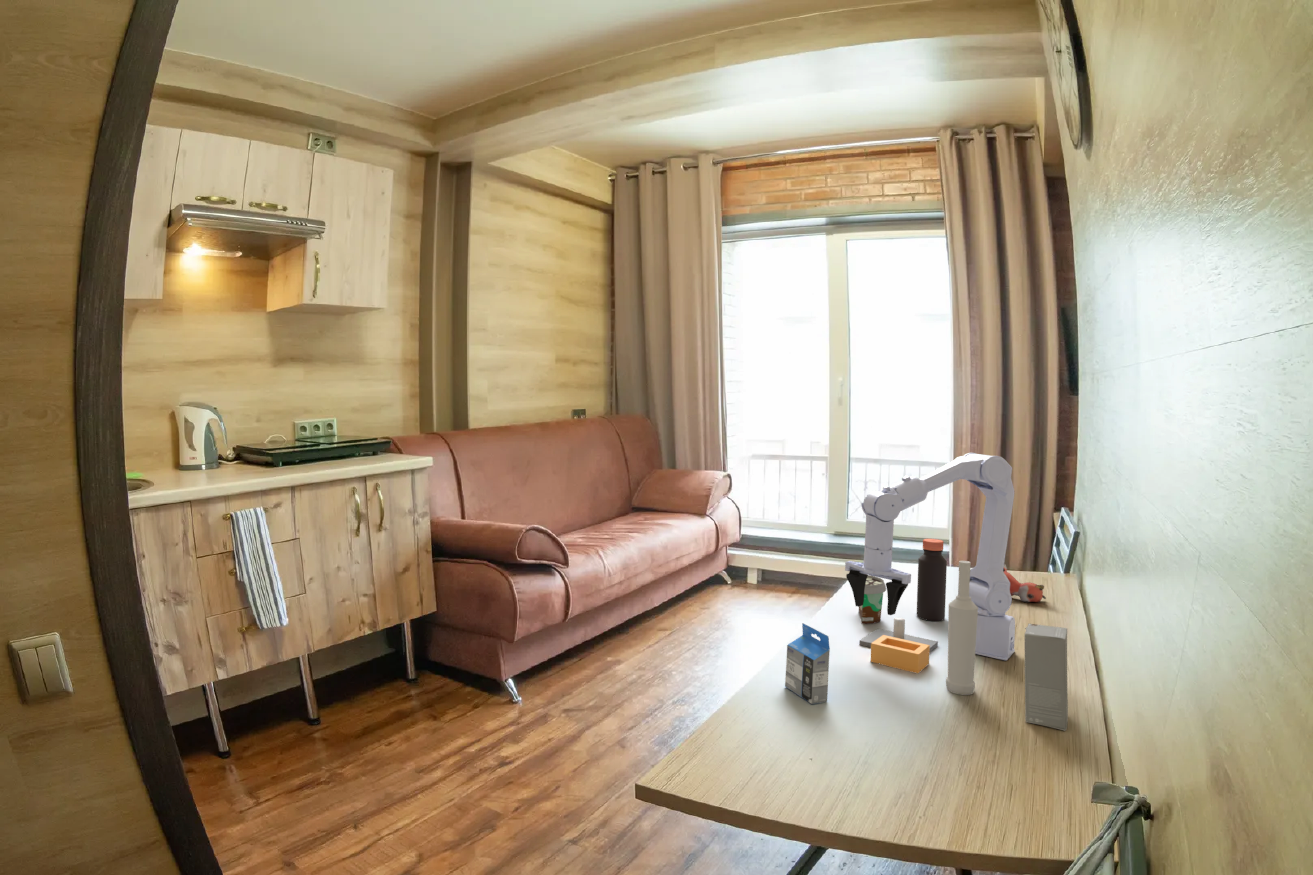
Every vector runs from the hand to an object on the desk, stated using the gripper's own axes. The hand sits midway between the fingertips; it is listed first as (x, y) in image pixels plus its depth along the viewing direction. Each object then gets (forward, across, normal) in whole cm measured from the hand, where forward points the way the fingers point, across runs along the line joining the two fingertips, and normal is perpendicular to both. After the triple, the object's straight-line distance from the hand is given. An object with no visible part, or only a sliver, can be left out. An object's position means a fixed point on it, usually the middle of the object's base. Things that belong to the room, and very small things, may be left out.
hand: (875, 609), depth 153 cm
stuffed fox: (+9, +4, +73) cm, 73 cm away
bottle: (+10, +20, -3) cm, 23 cm away
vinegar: (+10, -4, +37) cm, 38 cm away
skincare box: (+10, +36, -4) cm, 37 cm away
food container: (+10, -14, +24) cm, 30 cm away
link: (+10, +6, +1) cm, 12 cm away
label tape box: (+11, +2, -27) cm, 29 cm away
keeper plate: (+10, 0, +11) cm, 15 cm away
